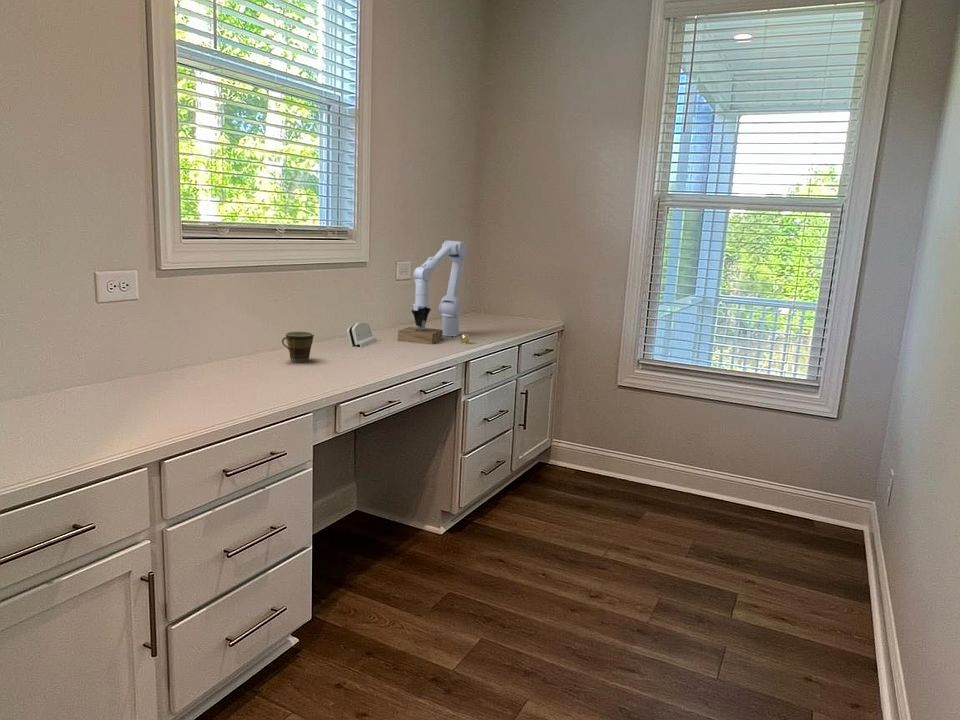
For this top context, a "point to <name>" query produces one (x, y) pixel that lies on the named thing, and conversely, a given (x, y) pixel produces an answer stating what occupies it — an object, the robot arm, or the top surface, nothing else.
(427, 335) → the hole block
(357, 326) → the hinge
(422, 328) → the tall pin
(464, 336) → the short pin
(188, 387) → the top surface
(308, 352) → the ceramic cup
